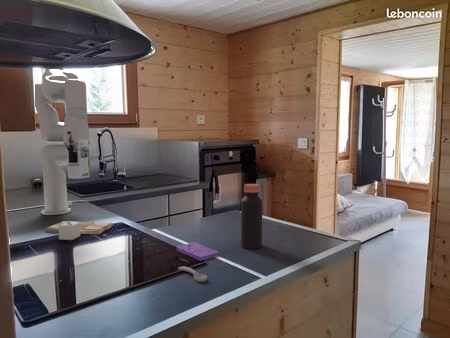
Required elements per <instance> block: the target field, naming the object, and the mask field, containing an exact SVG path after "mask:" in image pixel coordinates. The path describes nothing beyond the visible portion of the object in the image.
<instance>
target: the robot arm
mask: <svg viewBox="0 0 450 338" xmlns="http://www.w3.org/2000/svg"><path fill="white" fill-rule="evenodd" d="M41 80H42V82H40V83H35V107H36V109H35V110H36V113H37V115H38V122H39V123H38V125H39V130H40V136H41V139H42V141H43V142H44V143H49V144H46V145H43V146H42V147H41V148H40V150H39V157H40V158H39V159H40V162H41V167H42V177H43V181H42V182H43V199H44V209H42V210H41V212H40V213H41V214H42V215H45V216H56V215H58V216H59V215H65V214H68V213H70V212H72V208H70V207H69V206H71V205H72V204H73V201H72V200H68V195H67V194H68V192H67V189H68V188H67V174H66V172H65V171H64V170H63V168H61V166H67V152H66V148H67V151H68V152H69V163H77V162H78V157H77V152H76V148H77V144H78V140H88V146H90V143H91V140H90V129H89V123H88V103H87V101H88V99H87V98H88V97H87V85H86V82H85V81H84V80H81V79H79V76H78V75H77V73H76V72H74V71H71V70H61V69H48V70H46V71H44V72H43V73H42V77H41ZM50 103H56V104H57V103H59V104H64V108H65V109H64V112H65V117H64V121H63V122H61V121H60V116H59V113H58V111H57V109H55V108H54V107H53V106H52V105H51V104H50ZM35 107H34V108H35ZM71 142H74V143H71ZM73 146H74V147H73Z"/></svg>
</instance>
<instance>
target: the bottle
mask: <svg viewBox="0 0 450 338" xmlns="http://www.w3.org/2000/svg"><path fill="white" fill-rule="evenodd" d="M260 187H261V186H260V184H259V183H258V184H257V183H245V184H244V185H243V194H244V196H243V198H242V199H241V201H240V246H241V247H242V248H244V249H247V250H257V249H261V248H262V247H263V200H262V198H261V197H260V196H259V194H260Z"/></svg>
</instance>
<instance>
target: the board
mask: <svg viewBox="0 0 450 338" xmlns="http://www.w3.org/2000/svg"><path fill="white" fill-rule="evenodd" d="M66 222H78V221H76V220H75V221H74V220H73V221H70V220H62V221H61V222H60V221H59V222H57V223H55V224H52V225H50V226H48V227H47V228H45V230H44V231H45V233H52V234H53V233H57V234H59V226H58V225H61V224H63V223H66ZM79 222H80V235H81V234H83V235H100V234H102V233H104V232H106V231H107V230H109V229H111V228H113V227H114V222H101V221H96V222H95V221H79ZM112 226H113V227H112Z"/></svg>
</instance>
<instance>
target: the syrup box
mask: <svg viewBox="0 0 450 338" xmlns="http://www.w3.org/2000/svg"><path fill="white" fill-rule="evenodd" d="M71 143H74V142H71ZM89 146H90V145H89ZM89 146H88V140H78V144H77V148H76V152H77V157H78V162H77V163H69V152H68V151H67V148H66V152H67V165H66V167H67V178H68V179H77V180H78V179H79V180H80V179H85V178H90V177H91V166H90V152H89V151H90V148H89ZM73 147H74V146H73Z"/></svg>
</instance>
